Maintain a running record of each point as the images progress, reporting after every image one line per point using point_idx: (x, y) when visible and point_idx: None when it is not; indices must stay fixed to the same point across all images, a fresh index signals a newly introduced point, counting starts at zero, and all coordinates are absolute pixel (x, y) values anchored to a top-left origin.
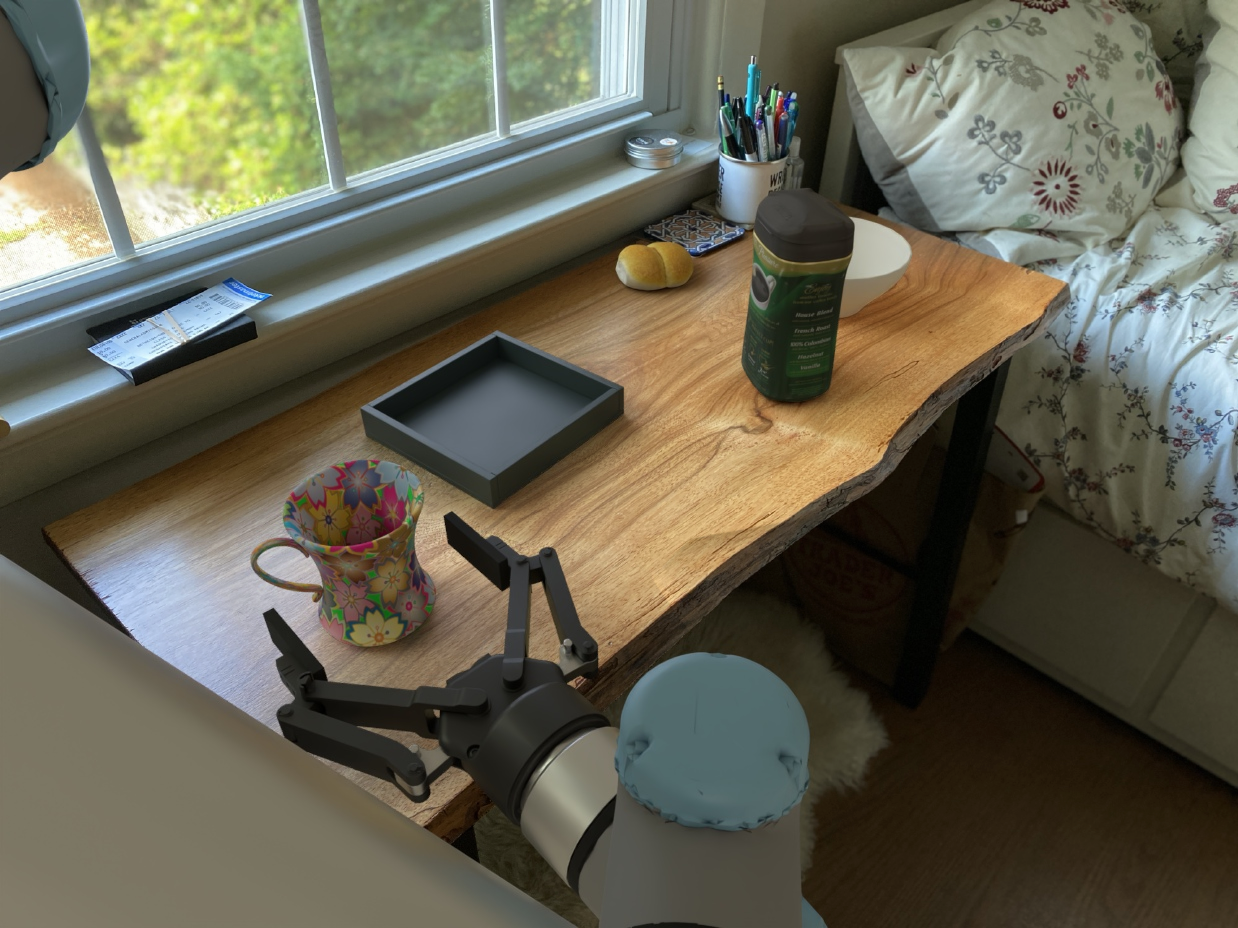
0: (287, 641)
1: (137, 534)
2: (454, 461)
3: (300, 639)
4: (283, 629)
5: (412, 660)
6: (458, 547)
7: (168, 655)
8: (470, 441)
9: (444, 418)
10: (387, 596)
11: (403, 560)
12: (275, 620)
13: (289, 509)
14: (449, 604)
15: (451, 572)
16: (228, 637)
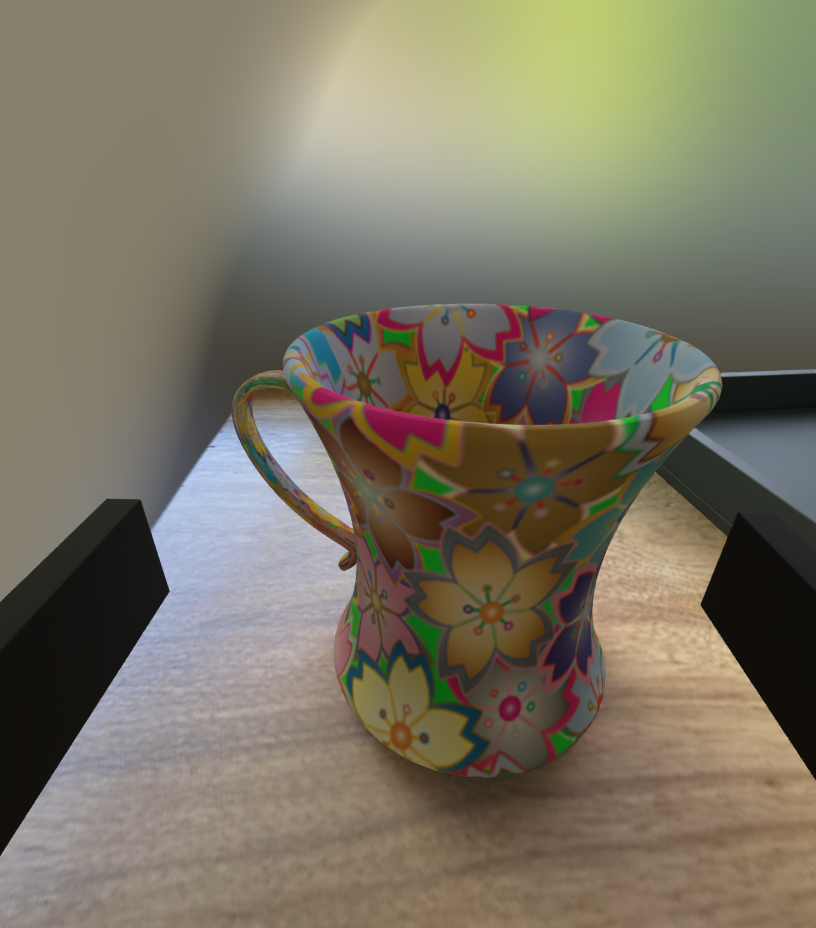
0: (3, 607)
1: (300, 412)
2: (743, 474)
3: (24, 626)
4: (58, 564)
5: (445, 865)
6: (743, 635)
7: (162, 534)
8: (766, 474)
9: (725, 436)
10: (459, 650)
11: (548, 575)
12: (92, 530)
13: (352, 324)
14: (620, 757)
15: (655, 675)
16: (236, 555)
